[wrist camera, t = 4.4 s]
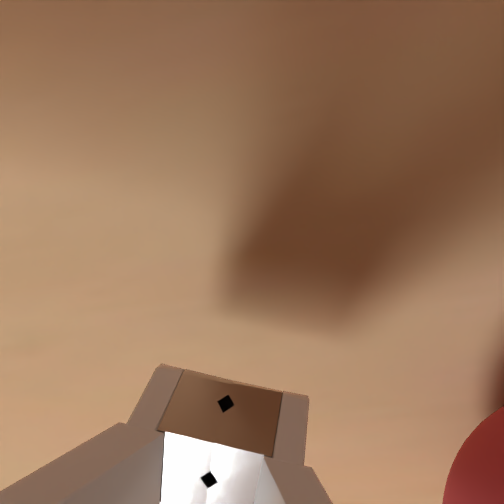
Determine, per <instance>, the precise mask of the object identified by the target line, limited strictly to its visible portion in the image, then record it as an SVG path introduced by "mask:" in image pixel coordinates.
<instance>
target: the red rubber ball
mask: <svg viewBox="0 0 504 504" xmlns="http://www.w3.org/2000/svg"><path fill="white" fill-rule="evenodd" d="M442 504H504V406H503V407H501V408H500V409H498V410H497V411H495V412H494V413H493V414H491V415H490V416H489V417H488V418H486V419H485V420H484V421H482V422H481V423H480V424H479V425H478V427H477V428H476V429H475V430H474V431H473V432H472V433H471V434H470V436H469V437H468V438H467V439H466V440H465V442H464V443H463V445H462V447H461V448H460V450H459V452H458V453H457V456H456V458H455V460H454V462H453V464H452V467H451V469H450V472H449V475H448V478H447V482H446V486H445V491H444V497H443V503H442Z"/></svg>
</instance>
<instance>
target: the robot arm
mask: <svg viewBox="0 0 504 504" xmlns="http://www.w3.org/2000/svg"><path fill="white" fill-rule="evenodd" d="M308 410H309V398H308V396H306V395H301V394H296V393H291V392H286V391H283V393H282V391H280V390H275V389H270V388H266V387H261V386H256V385H252V384H247V383H242V382H237V381H232V380H228V379H224V378H220V377H216V376H212V375H208V374H204V373H200V372H196V371H191V370H187V369H185V370H184V369H181V368H177V367H173V366H169V365H165V364H160V365H159V366H158V367H157V368H156V369H155V371H154V373H153V375H152V377H151V379H150V381H149V383H148V384H147V386H146V388H145V390H144V392H143V394H142V396H141V398H140V399H139V401H138V403H137V405H136V407H135V409H134V411H133V413H132V414H131V416H130V418H129V420H128V422H127V424H124V423H117V424H115V425H114V426H112V427H110V428H108V429H107V430H105V431H103V432H102V433H100V434H98V435H96V436H95V437H93V438H91V439H90V440H88V441H86V442H84V443H83V444H81V445H79V446H77V447H76V448H74V449H72V450H71V451H69V452H67V453H65V454H64V455H62V456H60V457H59V458H57V459H55V460H53V461H52V462H50V463H48V464H46V465H45V466H43V467H41V468H40V469H38V470H36V471H34V472H33V473H31V474H29V475H28V476H26V477H24V478H22V479H21V480H19V481H17V482H16V483H14V484H12V485H10V486H9V487H7V488H5V489H3V490H2V491H0V504H159V503H162V504H333V503H332V502H331V500H330V498H329V496H328V495H327V493H326V491H325V489H324V488H323V486H322V484H321V483H320V481H319V479H318V477H317V476H316V474H315V472H314V470H313V469H312V468H311V467H307V466H304V458H305V446H306V434H307V422H308Z"/></svg>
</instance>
